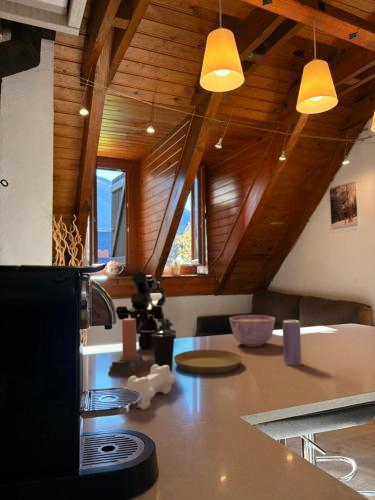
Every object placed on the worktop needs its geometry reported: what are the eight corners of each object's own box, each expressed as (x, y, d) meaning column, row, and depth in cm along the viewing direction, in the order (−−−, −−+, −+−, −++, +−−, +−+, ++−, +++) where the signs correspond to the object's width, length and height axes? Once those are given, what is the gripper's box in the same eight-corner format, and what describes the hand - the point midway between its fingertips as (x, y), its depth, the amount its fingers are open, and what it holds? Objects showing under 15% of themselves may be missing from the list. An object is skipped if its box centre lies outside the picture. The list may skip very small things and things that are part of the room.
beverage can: (297, 366, 127) (296, 322, 128) (281, 364, 131) (279, 321, 131) (303, 362, 132) (302, 320, 133) (287, 360, 136) (286, 319, 136)
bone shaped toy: (152, 391, 108) (149, 363, 109) (178, 392, 105) (175, 362, 105) (122, 410, 95) (119, 377, 95) (151, 411, 91) (148, 378, 92)
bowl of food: (225, 348, 157) (224, 321, 157) (234, 339, 176) (233, 314, 176) (274, 351, 151) (273, 322, 151) (278, 340, 170) (277, 315, 170)
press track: (122, 361, 139) (122, 351, 140) (143, 362, 139) (143, 351, 139) (108, 374, 124) (108, 362, 124) (131, 374, 123) (131, 362, 123)
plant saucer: (247, 359, 139) (247, 350, 140) (235, 379, 117) (235, 368, 117) (186, 356, 147) (185, 347, 147) (163, 374, 124) (163, 363, 124)
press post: (125, 359, 138) (124, 318, 138) (138, 359, 137) (137, 318, 138) (121, 363, 133) (120, 320, 133) (134, 363, 132) (133, 320, 133)
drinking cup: (169, 381, 115) (167, 316, 116) (147, 378, 118) (146, 315, 119) (180, 374, 122) (178, 312, 123) (159, 372, 125) (158, 312, 126)
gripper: (116, 286, 152) (108, 317, 141) (161, 285, 150) (156, 317, 139) (122, 303, 160) (115, 334, 148) (165, 303, 158) (161, 334, 146)
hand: (136, 330), depth 145 cm, fingers closed
